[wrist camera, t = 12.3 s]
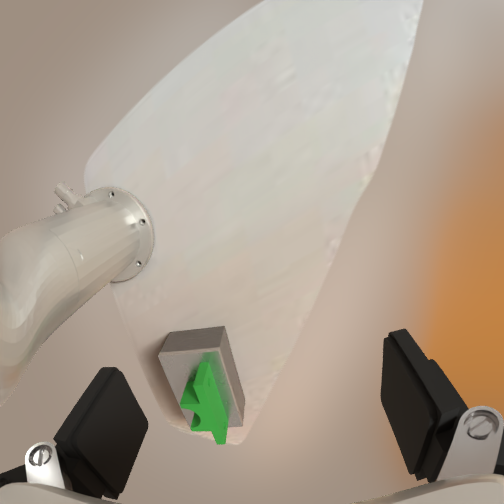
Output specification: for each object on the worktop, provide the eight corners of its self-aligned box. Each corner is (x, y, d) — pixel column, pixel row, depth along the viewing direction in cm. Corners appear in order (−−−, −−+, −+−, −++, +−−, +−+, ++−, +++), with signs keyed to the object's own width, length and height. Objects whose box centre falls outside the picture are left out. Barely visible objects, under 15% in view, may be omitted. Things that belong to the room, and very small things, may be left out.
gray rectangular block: (170, 332, 42) (157, 355, 36) (224, 326, 41) (218, 350, 35) (197, 402, 45) (190, 428, 40) (245, 399, 45) (242, 426, 39)
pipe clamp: (180, 363, 36) (171, 385, 32) (209, 361, 36) (202, 384, 31) (203, 422, 39) (198, 445, 35) (228, 421, 39) (225, 444, 34)
